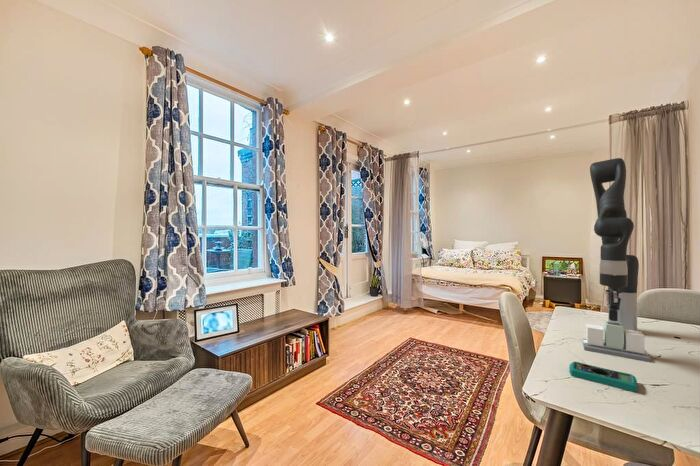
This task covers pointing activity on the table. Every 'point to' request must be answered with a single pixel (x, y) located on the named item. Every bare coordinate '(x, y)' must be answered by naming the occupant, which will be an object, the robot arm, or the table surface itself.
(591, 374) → the digital multimeter
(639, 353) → the rail panel
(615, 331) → the block
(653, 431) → the table surface
